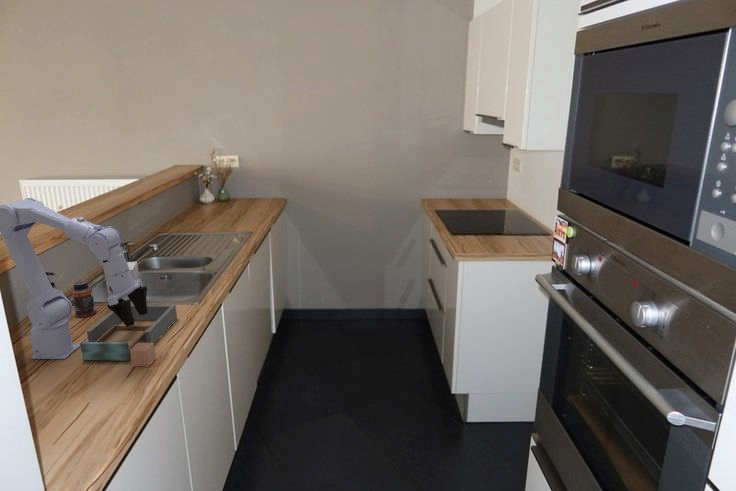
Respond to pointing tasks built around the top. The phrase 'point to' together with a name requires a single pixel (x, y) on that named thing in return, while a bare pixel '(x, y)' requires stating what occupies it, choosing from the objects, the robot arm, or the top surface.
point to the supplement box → (135, 274)
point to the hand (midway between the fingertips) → (137, 319)
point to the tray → (115, 343)
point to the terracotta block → (142, 354)
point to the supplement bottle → (83, 299)
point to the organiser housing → (157, 313)
